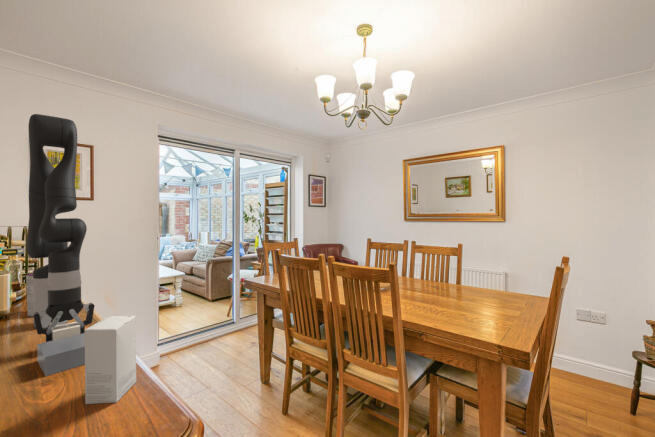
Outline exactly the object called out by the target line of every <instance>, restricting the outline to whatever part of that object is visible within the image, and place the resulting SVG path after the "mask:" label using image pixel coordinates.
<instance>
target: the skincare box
mask: <svg viewBox="0 0 655 437" xmlns="http://www.w3.org/2000/svg"><path fill="white" fill-rule="evenodd" d="M136 319H137V316H136V315H115V316H113V315H111V316H106V317H105V318H103V319H101V320H99V321H98V322H96V323H95V324H93V325H91V326H88V327H87V328H85V365H84V382H85V383H84V384H85V385H84V386H85V387H84V388H85V389H84V393H85V394H84V396H85V397H84V399H85V405H94V404H98V405H99V404H113V403H114V404H115V403H118V402H119V401H120V400H121V398H122V397H123V396H125V394H126V393H127V392H128V391H129V390H130V389H131V388H132V387H133V386H134V385H135V384H136V383H137V351H136V350H137V345H136V344H137V343H136V342H137V339H136V338H137V335H136V333H137V331H136V329H137V328H136V325H137V324H136V322H137V321H136Z"/></svg>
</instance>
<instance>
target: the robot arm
mask: <svg viewBox="0 0 655 437" xmlns="http://www.w3.org/2000/svg"><path fill="white" fill-rule="evenodd" d="M28 144H29V145H28V146H29V164H30V165H29V181H28V224H27V225H28V226H27V233H26V234H27V236H26V245H25V246H26V248H25V249H26V253H27V255H28V257H29V258H31V259H46V258H47V263H48V264H45V265H43V266H41V267H38V268H35V269H34V270H33V271H32V274H33V302H34V314H33V316H34V317H33V328H34V329H36V334H37V335H45V342H49V341H53V336H52V330H53V329H54V327H55V326H57V325H62V324H67V323H69V321H72V320H74V322H77V324H78V325H80V334H82V333H85V329H86V326H88V325H91V324H92V323H93V318H94V311H95V304H94V303H92V302H89V303H83V302H82V277H81V270H80V267H81V265H80V264H81V263H80V255H81V249H82V245H83V243H84V240H85V237H86V234H87V229H88V228H87V223H86V222H85V221H84V220H82V218H78V217H76V218H74V217H73V218H71V217H70V218H68V217H67V218H56V216H57V215H59V214H65V213H69V212H73V211H75V210H77V206H78V204H77V195H76V194H77V191H76V171H77V170H76V169H77V155H78V128H77V125H76V123H75V122H74V121H73V120H71V119H69V118H63V117H57V116H54V115H53V116H52V115H46V114H41V113H40V114H39V113H33V114H31V116H30V117H29V120H28ZM44 147H51V148H52V147H53V148H59V149H63V150H64V151H63V156H62V158H61V160H60V161H59V162H58V164H57V165H56V166H53V164H52V163H51V161H50V160H49V158H48V157H47V155H46V153H45V151H44ZM69 243H70V244H69ZM83 309H84V311H86V316H85V320H82V318H81V317H80V316H79V314H80V313H81V311H82V310H83Z"/></svg>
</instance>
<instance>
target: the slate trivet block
mask: <svg viewBox="0 0 655 437" xmlns="http://www.w3.org/2000/svg"><path fill="white" fill-rule="evenodd" d="M36 348H37V350H36V352H37V363H38V365H39V367H40V369H41V370H42V372H43V375H44V376H45V377H48V376H52V375H55V374H58V373H61V372H65V371H68V370H71V369H75V368H78V367H82V366H85V333H82V334H78V335H74V336H70V337H65V338H61V339H57V340H53V341H49V342H46V341H44V342H41V343H40V342H39V343H37V344H36Z"/></svg>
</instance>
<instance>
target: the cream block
mask: <svg viewBox="0 0 655 437" xmlns="http://www.w3.org/2000/svg"><path fill="white" fill-rule="evenodd" d="M78 334H80V325H78V324H77V322H76V321H73V322H66V323H64V324H61V325H57V326H55V327H54V329H53V330H52V336H53V340H57V339H61V338H65V337H70V336H74V335H78Z"/></svg>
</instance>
